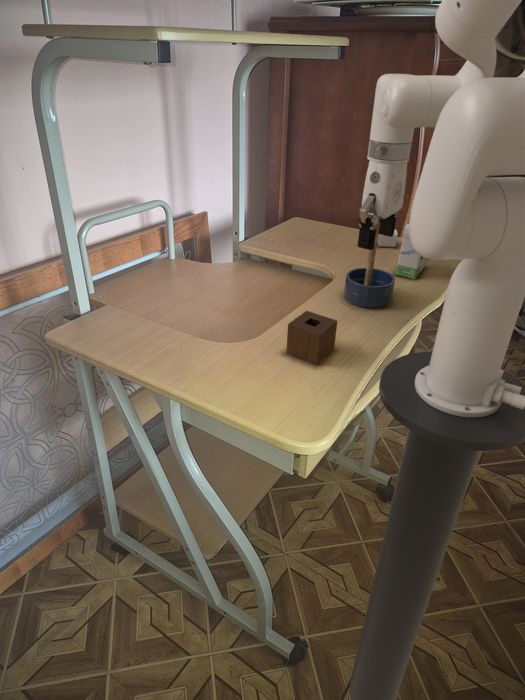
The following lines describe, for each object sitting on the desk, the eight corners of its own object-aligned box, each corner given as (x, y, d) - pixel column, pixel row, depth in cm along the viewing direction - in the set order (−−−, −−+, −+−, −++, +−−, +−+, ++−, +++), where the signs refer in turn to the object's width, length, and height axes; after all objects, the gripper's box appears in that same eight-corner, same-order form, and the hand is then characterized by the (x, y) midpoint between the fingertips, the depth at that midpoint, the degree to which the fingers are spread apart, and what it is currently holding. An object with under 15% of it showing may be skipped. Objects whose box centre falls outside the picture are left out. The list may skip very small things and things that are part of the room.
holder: (334, 350, 89) (337, 320, 85) (317, 365, 84) (319, 335, 81) (304, 339, 92) (306, 310, 88) (286, 353, 87) (287, 323, 84)
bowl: (398, 296, 108) (402, 275, 105) (379, 314, 101) (383, 291, 98) (356, 284, 113) (359, 264, 110) (335, 300, 105) (338, 278, 103)
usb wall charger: (395, 248, 133) (397, 233, 131) (369, 246, 134) (371, 232, 132) (393, 243, 136) (395, 228, 134) (368, 241, 137) (370, 227, 135)
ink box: (404, 263, 124) (413, 216, 118) (425, 267, 122) (435, 220, 116) (394, 275, 118) (403, 226, 111) (416, 280, 116) (426, 230, 109)
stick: (370, 295, 107) (381, 222, 98) (367, 298, 106) (378, 224, 97) (364, 294, 107) (374, 220, 99) (361, 296, 106) (371, 222, 98)
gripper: (389, 161, 83) (375, 258, 92) (425, 147, 95) (409, 234, 104) (349, 155, 87) (339, 249, 96) (388, 142, 99) (376, 227, 108)
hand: (375, 241), depth 100 cm, fingers open, 9 cm apart
